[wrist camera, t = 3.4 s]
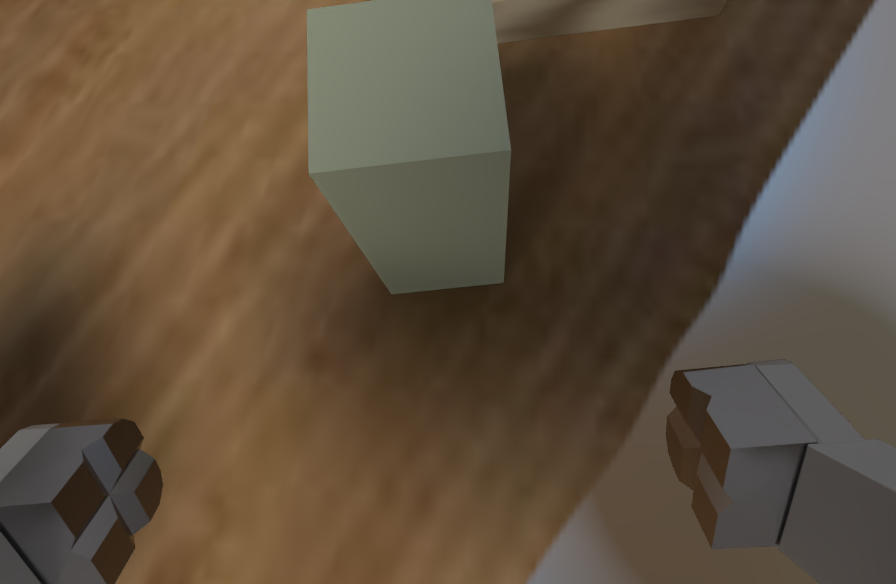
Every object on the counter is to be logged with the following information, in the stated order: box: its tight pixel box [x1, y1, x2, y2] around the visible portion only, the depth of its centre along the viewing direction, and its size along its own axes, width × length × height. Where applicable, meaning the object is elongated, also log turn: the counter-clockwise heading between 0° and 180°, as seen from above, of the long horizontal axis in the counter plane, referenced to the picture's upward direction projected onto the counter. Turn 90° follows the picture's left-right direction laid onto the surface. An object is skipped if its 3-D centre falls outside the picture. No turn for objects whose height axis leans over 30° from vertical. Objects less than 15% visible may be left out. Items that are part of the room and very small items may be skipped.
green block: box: [307, 0, 511, 294], centre depth 17 cm, size 4×4×10 cm
